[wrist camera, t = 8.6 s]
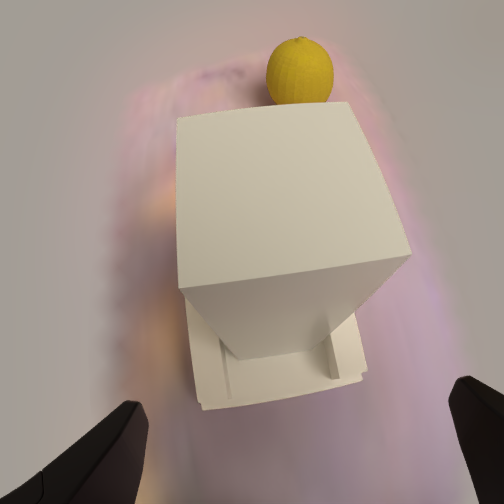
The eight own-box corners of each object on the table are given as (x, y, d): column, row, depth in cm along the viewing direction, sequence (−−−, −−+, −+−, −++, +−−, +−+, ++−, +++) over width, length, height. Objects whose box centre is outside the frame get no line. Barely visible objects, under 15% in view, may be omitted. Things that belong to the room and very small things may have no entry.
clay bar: (311, 350, 17) (411, 254, 5) (239, 360, 17) (178, 287, 5) (298, 283, 19) (347, 101, 7) (230, 292, 18) (177, 118, 7)
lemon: (338, 111, 27) (351, 39, 19) (304, 142, 25) (314, 62, 18) (290, 87, 28) (293, 18, 21) (253, 114, 27) (250, 38, 19)
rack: (355, 381, 17) (374, 379, 14) (206, 409, 17) (194, 413, 14) (323, 247, 21) (333, 221, 18) (189, 269, 21) (176, 247, 18)
